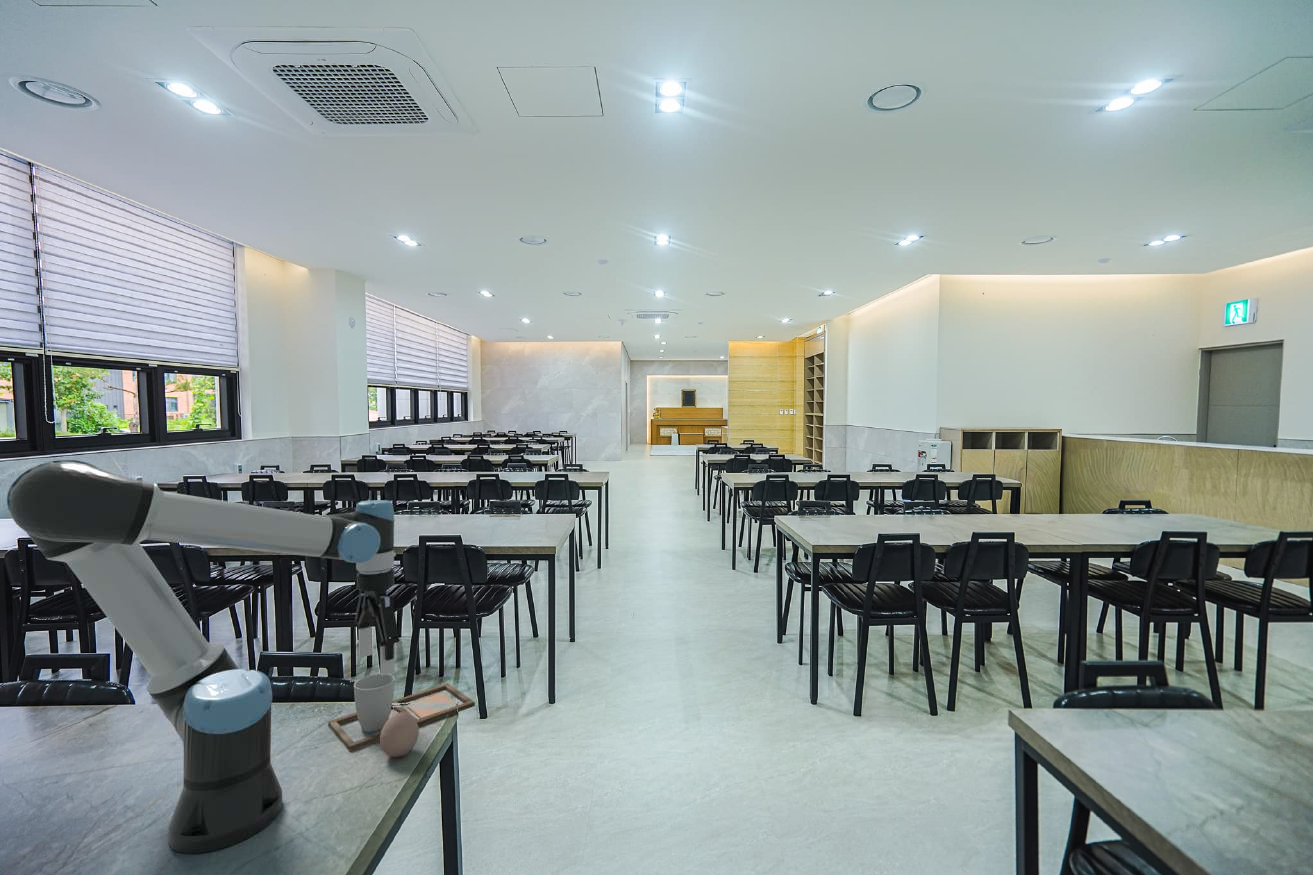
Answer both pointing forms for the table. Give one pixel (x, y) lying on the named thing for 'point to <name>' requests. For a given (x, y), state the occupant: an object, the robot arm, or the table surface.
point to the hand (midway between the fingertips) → (376, 664)
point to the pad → (426, 712)
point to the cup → (374, 700)
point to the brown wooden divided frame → (369, 740)
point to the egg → (399, 734)
